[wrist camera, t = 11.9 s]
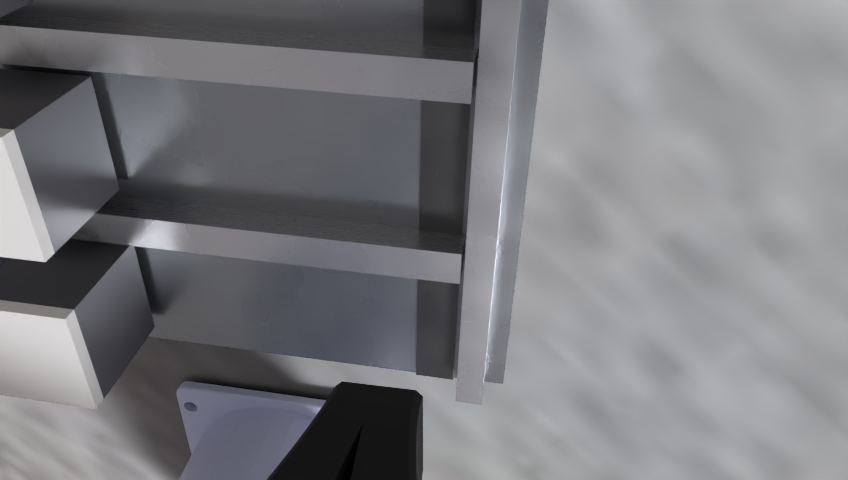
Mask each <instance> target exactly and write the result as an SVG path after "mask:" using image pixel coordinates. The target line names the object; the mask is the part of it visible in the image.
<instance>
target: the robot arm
mask: <svg viewBox="0 0 848 480" xmlns="http://www.w3.org/2000/svg"><path fill="white" fill-rule="evenodd" d="M176 396H177V400H178V404H179V408H180V411H181V415H182V419H183V423H184V427H185V431H186V435H187V439H188V443H189V447H190V451H191V457H190V459H189V461H188V463H187V465H186V466H185V468H184V470H183V472H182V474H181V476H180V478H179V480H422V473H423V396H422V395H420V394H419V393H418V392H417V391H416V390H409V389H400V388H392V387H383V386H375V385H366V384H358V383H350V382H341V383H339V384H338V385H336V387H335V388H334V390H333V391H332V393H331V394H330V396H329V397H328V399H327V400H321V399H313V398H306V397H299V396H292V395H285V394H278V393H270V392H263V391H256V390H249V389H242V388H235V387H227V386H220V385H213V384H206V383H199V382H192V381H185V382H183V383H181V385H180V386H179V388H178V390H177V391H176Z"/></svg>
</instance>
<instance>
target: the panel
mask: <svg viewBox="0 0 848 480" xmlns="http://www.w3.org/2000/svg"><path fill="white" fill-rule="evenodd" d="M547 9H548V0H33V2H32V3H30V4H28V5H25V6H23V7H21V8H19V9H17V10H15V11H13V12H11V13H9V14H6V15H4V16H2V17H0V69H11V70H22V71H34V72H45V73H57V74H68V75H80V76H91V79H92V83H93V87H94V91H95V95H96V99H97V103H98V107H99V111H100V114H101V118H102V122H103V126H104V130H105V134H106V138H107V142H108V146H109V150H110V153H111V157H112V161H113V165H114V169H115V173H116V177H117V181H118V185H119V190H118V191H117V192H116V193H115V194H114V195H113V196H112V197H111V198H110V199H109V200H108V201H107V202H106V203H105V204H104V205H103V206H102V207H101V208H100V209H99V210H98V211H97V212H96V213H95V214H94V215H93V216H92V217H91V218H90V219H89V220H88V221H87V222H86V223H85V224H84V225H83V226H82V227H81V228H80V229H79V230H78V231H77V232H76V233H75V234H74V235H73V236H72V237H71V238H70V239H78V240H87V241H95V242H104V243H112V244H121V245H129V246H134V247H135V251H136V255H137V259H138V263H139V267H140V271H141V274H142V278H143V282H144V286H145V290H146V294H147V298H148V302H149V306H150V310H151V314H152V317H153V321H154V325H155V327H154V329H153V330H152V332H151V333H150V334H149V336H148V337H154V338H162V339H169V340H177V341H184V342H192V343H199V344H207V345H214V346H222V347H229V348H237V349H245V350H252V351H260V352H267V353H275V354H282V355H290V356H297V357H305V358H312V359H320V360H327V361H335V362H342V363H350V364H358V365H365V366H373V367H380V368H388V369H395V370H403V371H410V372H416V375H423V376H431V377H438V378H446V379H453V377H455V378H457V387H456V401H459V402H466V403H473V404H481V402H482V394H483V386H484V381H486V382H493V383H501V384H503V379H504V370H505V362H506V353H507V345H508V336H509V328H510V320H511V311H512V303H513V294H514V286H515V278H516V269H517V261H518V252H519V244H520V236H521V227H522V219H523V210H524V202H525V194H526V185H527V177H528V168H529V160H530V151H531V143H532V135H533V126H534V118H535V109H536V101H537V93H538V84H539V76H540V67H541V59H542V51H543V42H544V34H545V25H546V17H547ZM11 259H12V258H6V257H0V269H1V268H2V267H3V266H4V265H6V264H7V263H8V262H9V261H10V260H11Z"/></svg>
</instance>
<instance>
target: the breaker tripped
mask: <svg viewBox="0 0 848 480" xmlns="http://www.w3.org/2000/svg"><path fill="white" fill-rule="evenodd" d="M32 2H33V0H0V17H2V16H4V15H6V14H9V13H11V12H13V11H15V10H17V9H19V8H21V7H23V6H25V5H28V4H30V3H32Z"/></svg>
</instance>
